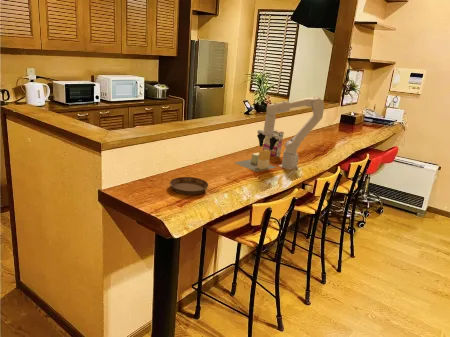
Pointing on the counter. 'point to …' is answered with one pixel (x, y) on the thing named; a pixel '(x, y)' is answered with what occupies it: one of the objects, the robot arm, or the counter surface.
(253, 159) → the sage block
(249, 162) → the rubber mat
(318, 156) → the counter surface
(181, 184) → the plant saucer
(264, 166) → the cream block
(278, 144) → the candy bar box
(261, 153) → the mustard block
